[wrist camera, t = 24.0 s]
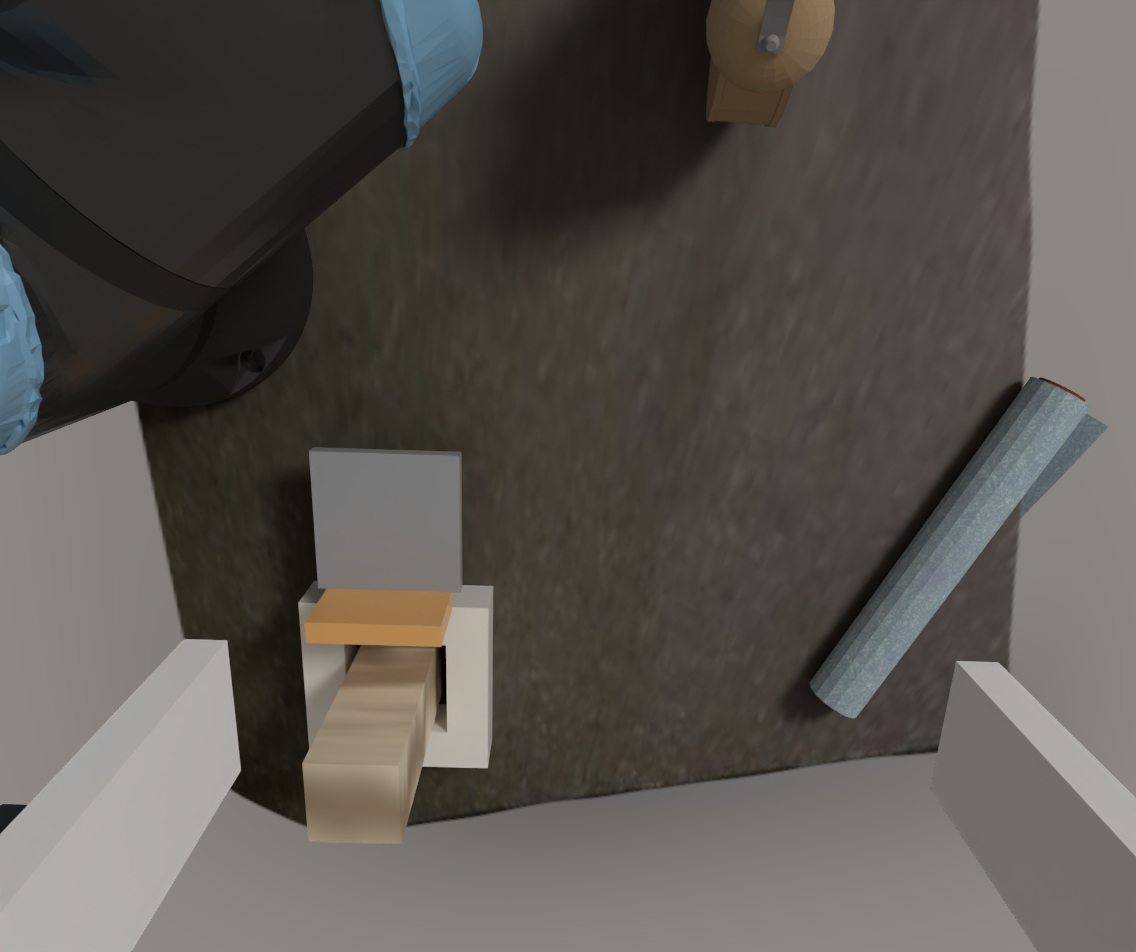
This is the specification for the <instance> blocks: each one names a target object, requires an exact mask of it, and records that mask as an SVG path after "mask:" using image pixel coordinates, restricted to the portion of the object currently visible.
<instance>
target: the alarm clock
mask: <svg viewBox="0 0 1136 952" xmlns="http://www.w3.org/2000/svg"><path fill="white" fill-rule="evenodd" d="M834 12H835V7H834V2H833V0H712V1H711V5H710V8H709V12H708V15H707V19H706V42H707V45H708V48H709V51H710V55H711V61H710V71H709V80H708V91H707V103H706V121H708V122H715V121H724V122H736V123H747V124H759V125H764V126H768V127H776V125H777V124H778V122H779V120H780V119H781V117H782V115H783V113H784V110H785V107H786V104H787V101H788V99H789V96H790V93H791V90H792V87H793V85H794V84H795V83H796V82H798V81H799V80H800V79H802V78H803V77H804V76H805V75H807V74H808V73H809V72H810V71H811V70H812V69H813V67H814V66H815V65H816V63H817V62H818V61H819V59H820V58H821V57H822V55H823V54H824V52H825V49H826V47H827V44H828V42H829V39H830V37H831V34H832V32H833V22H834Z"/></svg>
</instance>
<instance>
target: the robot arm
mask: <svg viewBox="0 0 1136 952" xmlns="http://www.w3.org/2000/svg"><path fill="white" fill-rule="evenodd" d="M482 43H483V26H482V19H481V13H480V9H479V5H478V1H477V0H0V455H4V454H7V453H9V452H11V451H12V450H14V449H15V448H16V447H17V446H18V445H20V444H21V443H24V442H26V441H29V440H31V439H34V438H36V437H39V436H41V435H44V434H47V433H49V432H52V431H54V430H57V429H60V428H62V427H65V426H67V425H70V424H72V423H75V422H77V421H80V420H83V419H85V418H88V417H90V416H93V415H96V414H98V413H101V412H103V411H106V410H109V409H111V408H114V407H116V406H119V405H121V404H124V403H127V402H129V401H136V402H141V403H146V404H151V405H158V406H165V407H193V406H201V405H208V404H212V403H216V402H220V401H223V400H226V399H229V398H231V397H234V396H236V395H238V394H240V393H242V392H244V391H246V390H248V389H250V388H252V387H254V386H256V385H257V384H259V383H261V382H262V381H264V380H265V379H266V378H268V377H269V376H270V375H271V374H272V373H273V372H275V371H276V370H277V369H278V368H279V367H280V366H281V365H282V364H283V362H284V361H285V360H286V359H287V357H288V356H289V355H290V353H291V352H292V350H293V349H294V347H295V346H296V344H297V342H298V340H299V338H300V336H301V334H302V332H303V330H304V327H305V324H306V322H307V318H308V315H309V311H310V306H311V300H312V292H313V268H312V259H311V253H310V248H309V244H308V239H307V236H306V233H305V230H304V228H305V227H306V226H308V225H309V224H310V223H311V222H312V221H313V220H315V219H316V218H317V217H318V216H319V215H321V214H322V213H323V212H324V211H325V210H326V209H328V208H329V207H330V206H331V205H332V204H333V203H335V202H336V201H337V200H338V199H339V198H340V197H342V196H343V195H344V194H345V193H346V192H348V191H349V190H350V189H351V188H352V187H353V186H355V185H356V184H357V183H358V182H359V181H360V180H362V179H363V178H364V177H365V176H366V175H367V174H369V173H370V172H371V171H372V170H373V169H374V168H376V167H377V166H378V165H379V164H380V163H382V162H383V161H384V160H385V159H386V158H387V157H389V156H390V155H391V154H392V153H393V152H394V151H396V150H397V149H399V150H406V149H407V148H408V147H410V146H411V145H412V144H413V141H414V140H415V139H416V137H417V136H418V134H419V129H420V128H421V127H422V126H423V125H424V124H425V123H426V122H427V121H428V120H430V119H431V118H432V117H433V116H434V115H435V114H436V113H437V112H438V111H439V110H440V109H441V108H442V107H443V106H444V105H445V104H447V103H448V102H449V101H450V100H451V99H452V98H453V97H454V96H455V95H456V94H457V93H458V92H459V91H460V90H461V89H462V88H463V87H464V86H465V85H466V84H467V83H468V82H469V80H470V79H471V77H472V76H473V74H474V73H475V70H476V68H477V65H478V60H479V56H480V52H481V48H482ZM240 771H241V765H240V756H239V747H238V737H237V728H236V718H235V709H234V700H233V690H232V681H231V672H230V662H229V653H228V643H227V640H195V639H184V640H183V641H182V642H181V643H180V644H179V645H178V646H177V647H176V648H175V650H173V652H172V653H171V654H170V655H169V656H168V657H167V658H166V659H165V660H164V661H163V662H162V663H161V664H160V665H159V666H158V667H157V668H156V669H155V671H154V672H153V673H152V674H151V675H150V676H149V677H148V678H147V679H146V680H145V681H144V682H143V683H142V684H141V685H140V687H139V688H138V689H137V690H136V691H135V692H134V693H133V694H132V695H131V696H130V697H129V698H128V699H127V700H126V701H125V703H123V704H122V706H121V707H120V708H119V709H118V710H117V711H116V712H115V713H114V714H113V715H112V716H111V717H110V718H109V719H108V720H107V722H105V724H104V725H103V726H102V727H101V728H100V729H99V730H98V731H97V732H96V733H95V734H94V735H93V737H91V738H90V739H89V740H88V742H87V743H86V744H85V745H84V746H83V747H82V748H81V749H80V750H79V751H78V752H77V753H76V754H75V755H74V757H72V759H71V760H70V761H69V762H68V763H67V764H66V765H65V766H64V767H63V768H62V769H61V770H60V771H59V772H58V773H57V774H56V775H55V777H54V778H53V779H52V780H51V781H50V782H49V783H48V784H47V785H46V786H45V787H44V788H43V789H42V790H41V791H40V792H39V793H38V795H37V796H36V797H35V798H34V799H33V800H32V801H31V802H30V803H29V804H28V805H12V804H2V805H1V806H0V952H131V951H132V950H133V948H134V946H135V945H136V943H137V941H138V940H139V938H140V936H141V935H142V933H143V932H144V930H145V928H146V927H147V925H148V923H149V922H150V920H151V918H152V917H153V915H154V913H155V912H156V910H157V908H158V907H159V905H160V903H161V902H162V900H163V899H164V897H165V895H166V894H167V892H168V890H169V889H170V887H171V885H172V883H173V882H174V880H175V879H176V877H177V875H178V874H179V872H180V871H181V869H182V867H183V865H184V864H185V862H186V861H187V859H188V857H189V856H190V854H191V852H192V850H193V849H194V847H195V846H196V844H197V842H198V841H199V839H200V838H201V836H202V834H203V833H204V831H205V829H206V828H207V826H208V824H209V823H210V821H211V819H212V818H213V816H214V814H215V813H216V811H217V809H218V808H219V806H220V804H221V803H222V801H223V799H224V798H225V796H226V794H227V793H228V791H229V790H230V788H231V786H232V785H233V783H234V781H235V780H236V778H237V776H238V775H239V773H240ZM930 789H931V791H932V792H933V793H934V795H935V797H936V798H937V800H938V801H939V803H940V804H941V806H942V807H943V809H944V810H945V812H946V813H947V815H948V816H949V818H950V819H951V821H952V822H953V824H954V825H955V827H956V828H957V830H958V831H959V833H960V834H961V836H962V838H963V839H964V840H965V842H966V844H967V845H968V847H969V848H970V850H971V851H972V853H973V854H974V856H975V857H976V859H977V860H978V862H979V863H980V864H981V866H982V868H983V869H984V871H985V872H986V874H987V875H988V877H989V878H990V880H991V881H992V883H993V884H994V886H995V888H996V889H997V890H998V892H999V894H1000V895H1001V896H1002V898H1003V900H1004V901H1005V903H1006V904H1007V906H1008V907H1009V909H1010V910H1011V912H1012V913H1013V915H1014V916H1015V918H1016V919H1017V921H1018V922H1019V924H1020V925H1021V927H1022V928H1023V930H1024V931H1025V933H1026V934H1027V936H1028V937H1029V939H1030V941H1031V942H1032V944H1033V945H1034V947H1035V948H1036V950H1037V951H1038V952H1136V798H1135V797H1134V796H1133V795H1132V794H1131V793H1130V792H1129V791H1128V790H1127V789H1126V788H1125V787H1124V786H1123V785H1122V784H1121V783H1120V782H1119V781H1118V780H1117V779H1116V778H1115V777H1114V776H1113V775H1112V774H1111V773H1110V772H1109V771H1108V770H1107V769H1106V768H1105V767H1104V766H1103V765H1102V764H1101V763H1100V762H1099V761H1098V760H1097V759H1096V758H1095V757H1094V756H1093V755H1092V754H1091V753H1090V752H1089V751H1088V750H1086V748H1085V747H1084V746H1083V745H1082V744H1081V743H1080V742H1079V741H1078V740H1077V739H1076V738H1074V736H1072V735H1071V734H1070V733H1069V732H1068V731H1067V730H1066V729H1065V728H1064V727H1063V726H1062V725H1061V724H1060V723H1059V722H1058V721H1057V720H1056V719H1055V718H1054V717H1053V716H1052V715H1051V714H1050V713H1049V712H1048V711H1047V710H1046V709H1045V708H1044V707H1043V706H1042V705H1041V704H1040V703H1039V702H1038V701H1037V700H1036V699H1035V698H1034V697H1033V696H1032V695H1031V694H1030V693H1029V692H1028V691H1027V690H1026V689H1025V688H1024V687H1023V686H1022V685H1021V684H1020V683H1019V682H1018V681H1017V680H1016V679H1015V678H1014V677H1013V676H1012V675H1011V674H1010V673H1009V672H1008V671H1007V670H1006V669H1005V668H1003V667H1002V666H1001V665H1000V664H999V663H998V662H968V661H956V665H955V670H954V675H953V680H952V685H951V690H950V694H949V699H948V704H947V709H946V714H945V719H944V724H943V729H942V734H941V738H940V743H939V748H938V753H937V758H936V763H935V768H934V773H933V777H932V782H931V787H930Z"/></svg>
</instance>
